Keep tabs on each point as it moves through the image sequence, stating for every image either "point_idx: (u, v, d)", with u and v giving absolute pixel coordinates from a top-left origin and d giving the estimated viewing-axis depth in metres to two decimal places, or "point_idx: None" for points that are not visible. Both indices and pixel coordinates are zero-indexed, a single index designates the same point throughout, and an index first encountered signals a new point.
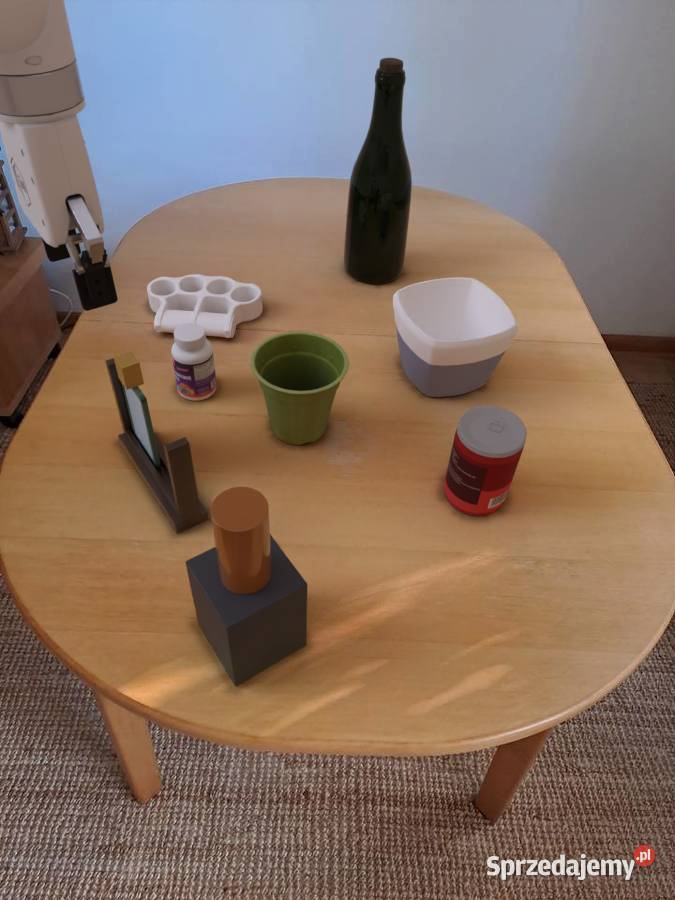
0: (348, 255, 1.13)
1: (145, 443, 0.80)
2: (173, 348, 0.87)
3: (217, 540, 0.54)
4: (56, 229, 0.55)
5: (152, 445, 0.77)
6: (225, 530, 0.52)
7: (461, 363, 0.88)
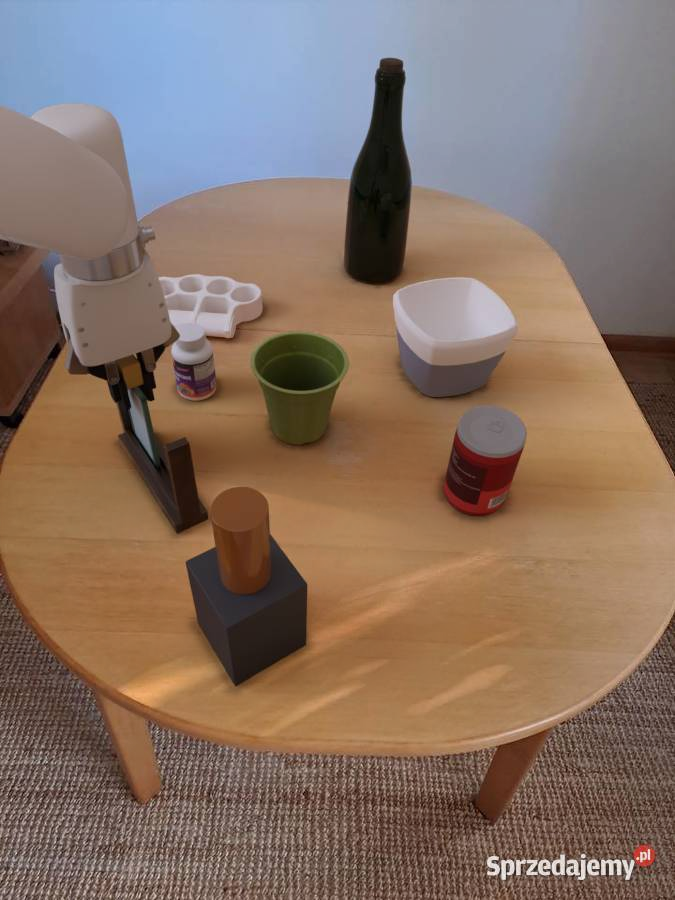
0: (348, 255, 1.13)
1: (145, 443, 0.80)
2: (173, 348, 0.87)
3: (217, 540, 0.54)
4: (65, 335, 0.69)
5: (152, 445, 0.77)
6: (225, 530, 0.52)
7: (461, 363, 0.88)
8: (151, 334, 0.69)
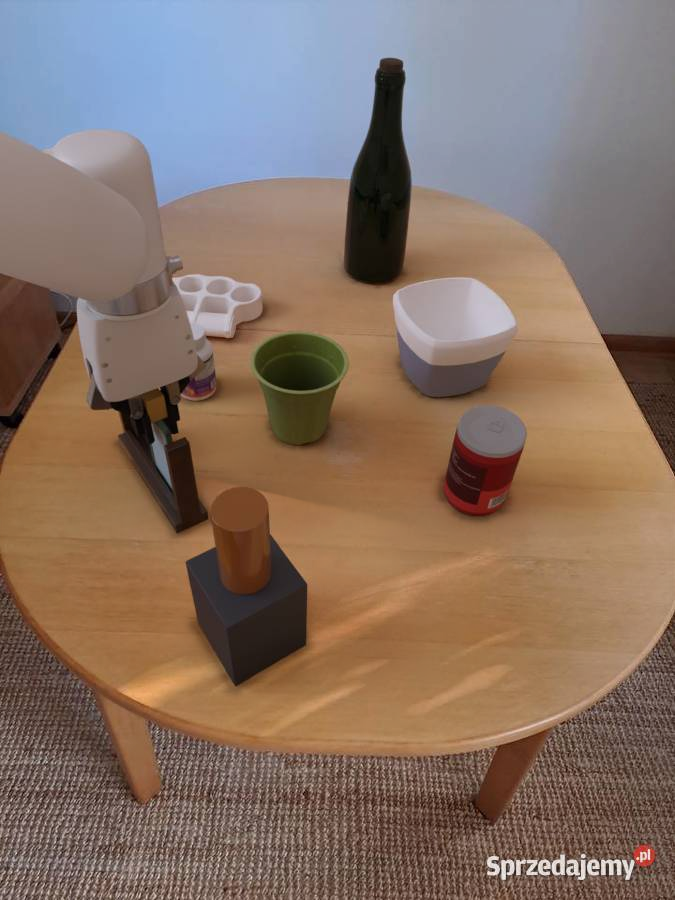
0: (348, 255, 1.13)
1: (167, 476, 0.77)
2: None
3: (217, 540, 0.54)
4: (86, 369, 0.65)
5: None
6: (225, 530, 0.52)
7: (461, 363, 0.88)
8: (177, 367, 0.66)
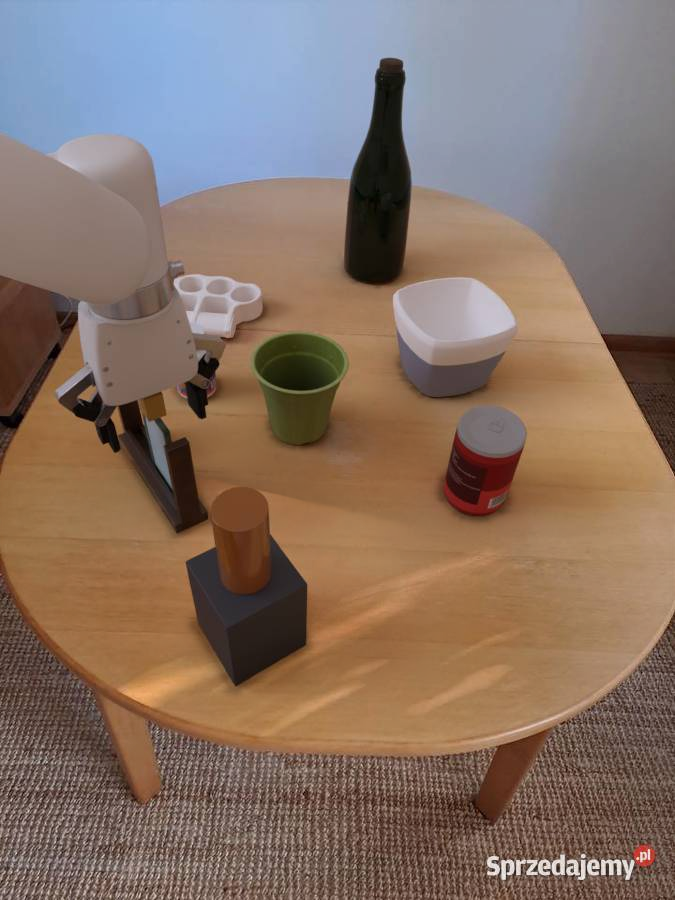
0: (348, 255, 1.13)
1: (166, 474, 0.77)
2: None
3: (217, 540, 0.54)
4: None
5: None
6: (225, 530, 0.52)
7: (461, 363, 0.88)
8: (177, 372, 0.66)
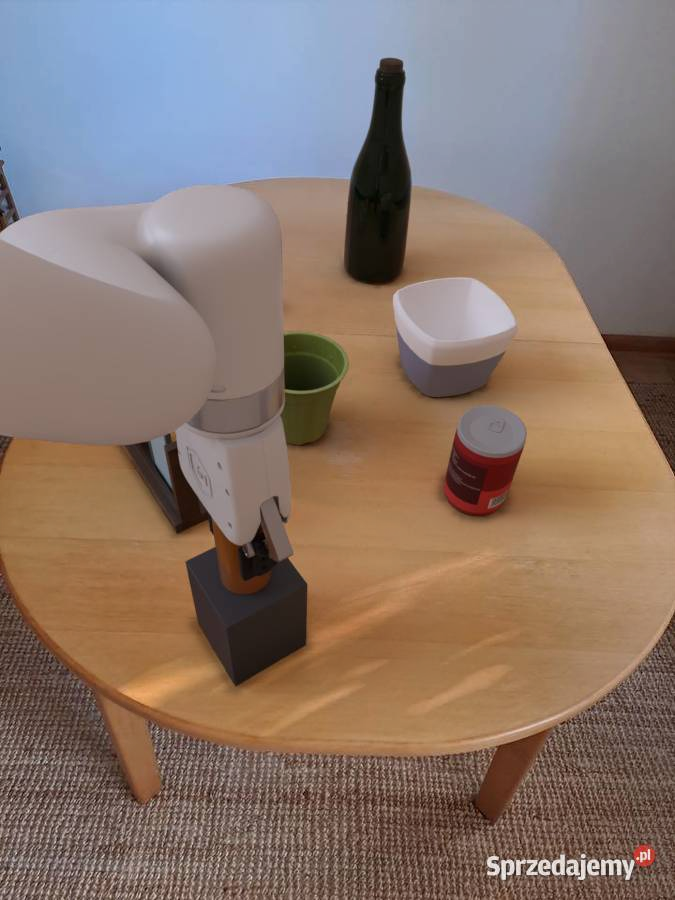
0: (348, 255, 1.13)
1: (166, 474, 0.77)
2: None
3: (217, 540, 0.54)
4: (245, 533, 0.47)
5: None
6: None
7: (461, 363, 0.88)
8: None
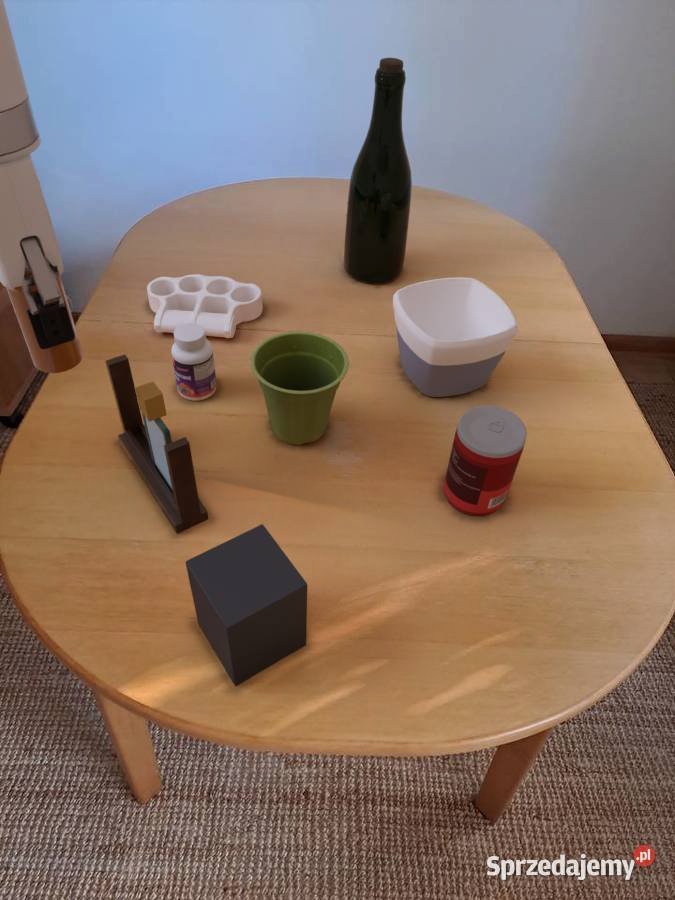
0: (348, 255, 1.13)
1: (166, 474, 0.77)
2: (173, 348, 0.87)
3: (14, 308, 0.60)
4: (11, 272, 0.53)
5: None
6: (14, 292, 0.58)
7: (461, 363, 0.88)
8: None
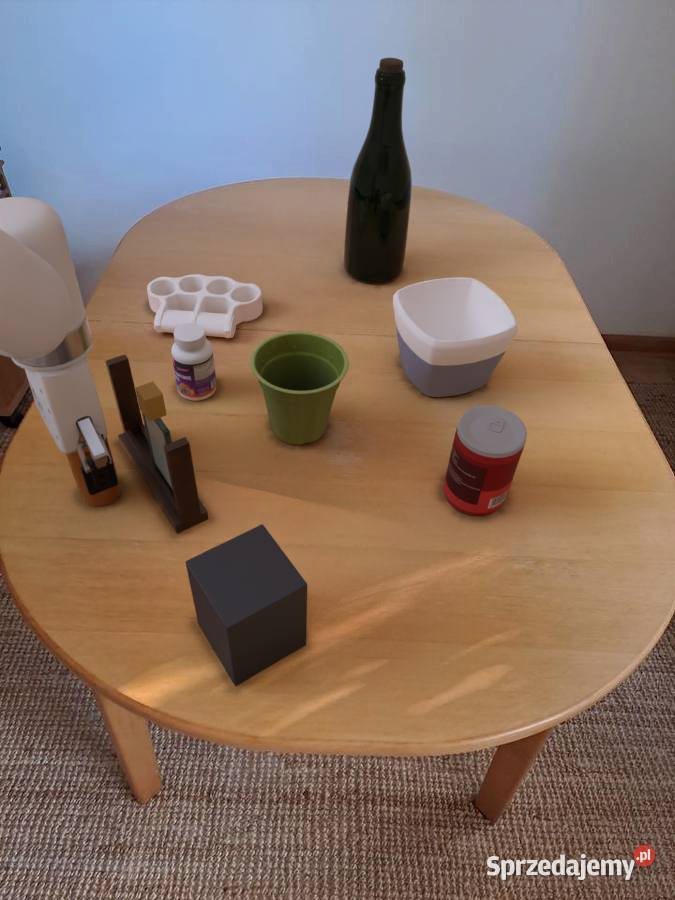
0: (348, 255, 1.13)
1: (166, 474, 0.77)
2: (173, 348, 0.87)
3: (69, 461, 0.74)
4: (68, 443, 0.66)
5: None
6: None
7: (461, 363, 0.88)
8: None
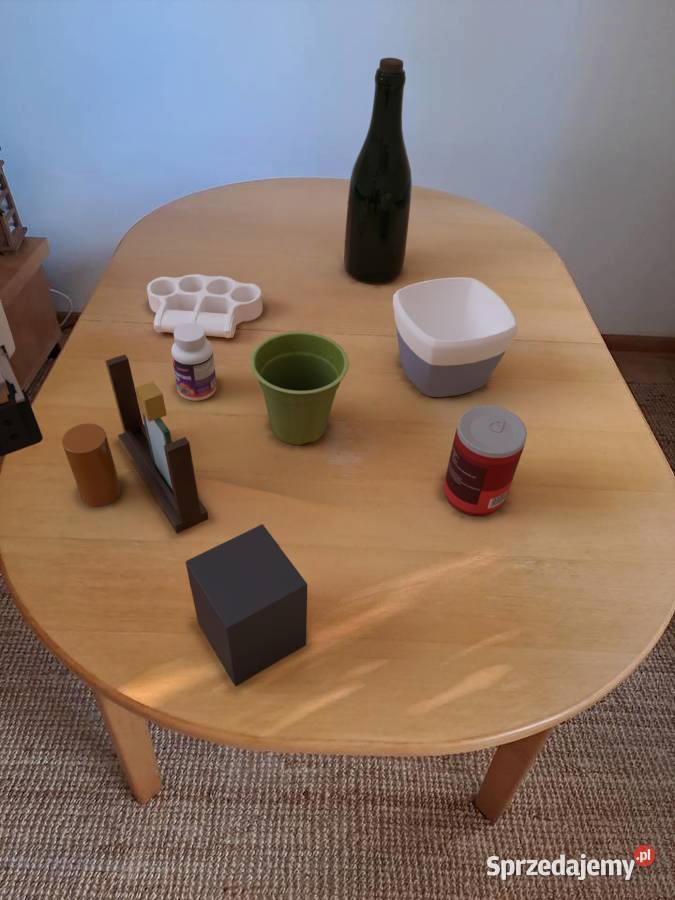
0: (348, 255, 1.13)
1: (166, 474, 0.77)
2: (173, 348, 0.87)
3: (69, 461, 0.74)
4: None
5: None
6: (70, 452, 0.72)
7: (461, 363, 0.88)
8: None
